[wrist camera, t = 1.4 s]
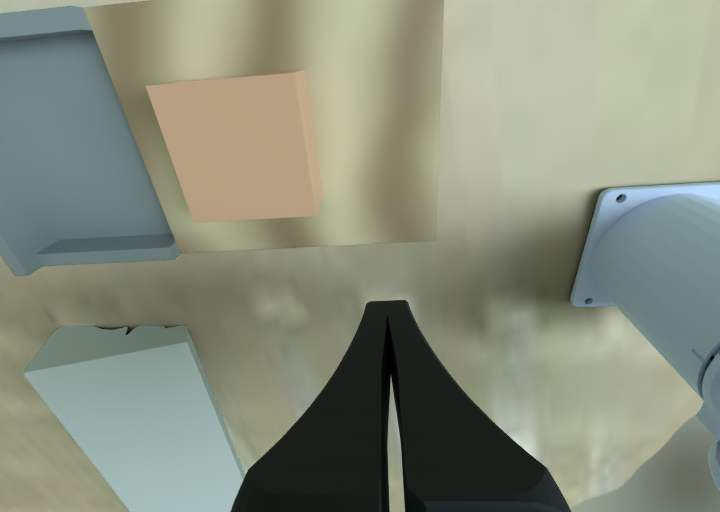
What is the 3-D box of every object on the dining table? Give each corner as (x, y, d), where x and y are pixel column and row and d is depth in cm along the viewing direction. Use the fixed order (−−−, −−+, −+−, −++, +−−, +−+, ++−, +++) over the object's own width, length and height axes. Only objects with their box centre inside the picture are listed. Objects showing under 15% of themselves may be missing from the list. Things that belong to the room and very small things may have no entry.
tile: (305, 69, 16) (294, 72, 13) (323, 196, 19) (316, 216, 17) (176, 80, 16) (145, 86, 14) (214, 203, 19) (193, 223, 17)
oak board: (439, -25, 15) (445, -32, 14) (432, 228, 21) (435, 240, 20) (106, 10, 16) (83, 7, 15) (191, 241, 22) (180, 253, 21)
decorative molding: (197, 300, 28) (59, 324, 27) (186, 342, 24) (22, 373, 23) (271, 508, 46) (190, 531, 44) (272, 552, 42) (183, 579, 40)
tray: (106, 10, 16) (51, 3, 13) (191, 241, 22) (165, 268, 19) (-71, 29, 17) (-159, 26, 14) (58, 248, 23) (15, 276, 20)
